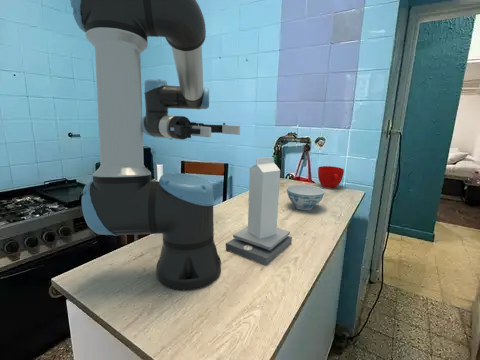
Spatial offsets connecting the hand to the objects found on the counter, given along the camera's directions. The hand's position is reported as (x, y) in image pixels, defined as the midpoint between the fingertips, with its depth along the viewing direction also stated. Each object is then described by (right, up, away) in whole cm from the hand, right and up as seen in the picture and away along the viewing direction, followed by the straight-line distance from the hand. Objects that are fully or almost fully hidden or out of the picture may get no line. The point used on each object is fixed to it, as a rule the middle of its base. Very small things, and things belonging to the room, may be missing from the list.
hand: (225, 131), depth 78 cm
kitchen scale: (+10, -33, 0) cm, 35 cm away
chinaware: (+31, -26, +33) cm, 52 cm away
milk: (+10, -30, -1) cm, 31 cm away
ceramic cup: (+52, -19, +64) cm, 84 cm away
